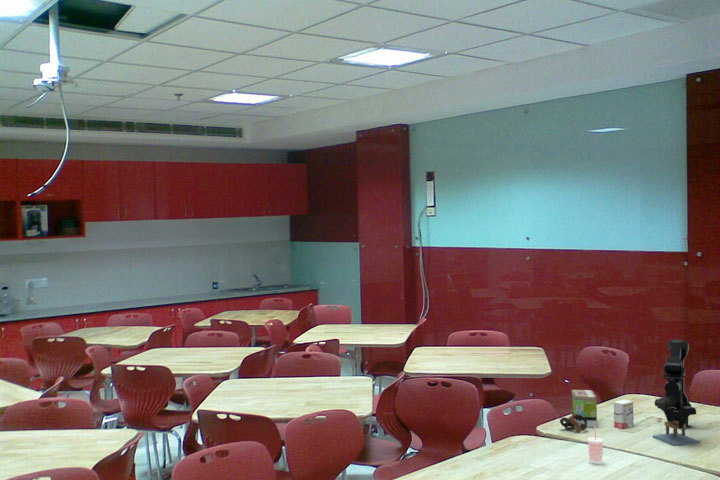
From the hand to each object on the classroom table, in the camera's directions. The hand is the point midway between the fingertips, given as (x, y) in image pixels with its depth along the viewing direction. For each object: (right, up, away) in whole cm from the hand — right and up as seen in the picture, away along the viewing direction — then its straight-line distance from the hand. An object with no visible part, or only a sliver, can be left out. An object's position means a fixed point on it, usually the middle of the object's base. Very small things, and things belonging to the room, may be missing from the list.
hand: (675, 426), depth 286 cm
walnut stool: (0, -4, 0) cm, 4 cm away
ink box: (-14, -7, +22) cm, 27 cm away
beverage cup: (-44, -7, -25) cm, 51 cm away
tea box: (-30, -7, +29) cm, 42 cm away
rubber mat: (0, -6, 0) cm, 6 cm away
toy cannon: (-38, -7, +18) cm, 43 cm away
